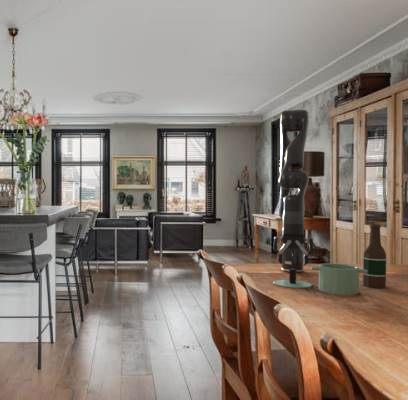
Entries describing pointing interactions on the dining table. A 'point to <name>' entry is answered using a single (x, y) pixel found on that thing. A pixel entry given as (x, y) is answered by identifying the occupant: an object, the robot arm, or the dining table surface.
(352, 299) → the dining table surface
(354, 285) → the pot
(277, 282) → the lid
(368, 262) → the beer bottle
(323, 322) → the dining table surface
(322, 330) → the dining table surface
